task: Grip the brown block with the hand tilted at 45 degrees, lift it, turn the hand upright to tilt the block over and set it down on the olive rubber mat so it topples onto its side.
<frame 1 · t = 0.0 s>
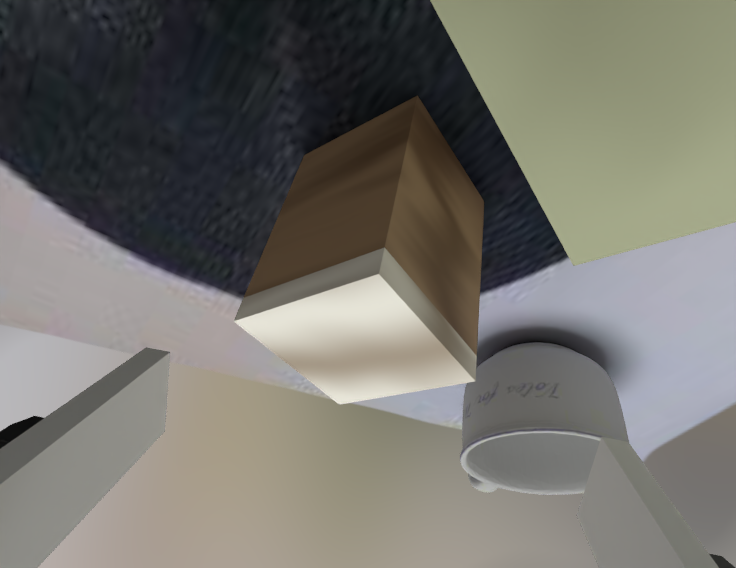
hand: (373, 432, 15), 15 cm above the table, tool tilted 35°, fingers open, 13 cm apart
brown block: (394, 178, 27), on the table
teacup: (523, 370, 39), on the table
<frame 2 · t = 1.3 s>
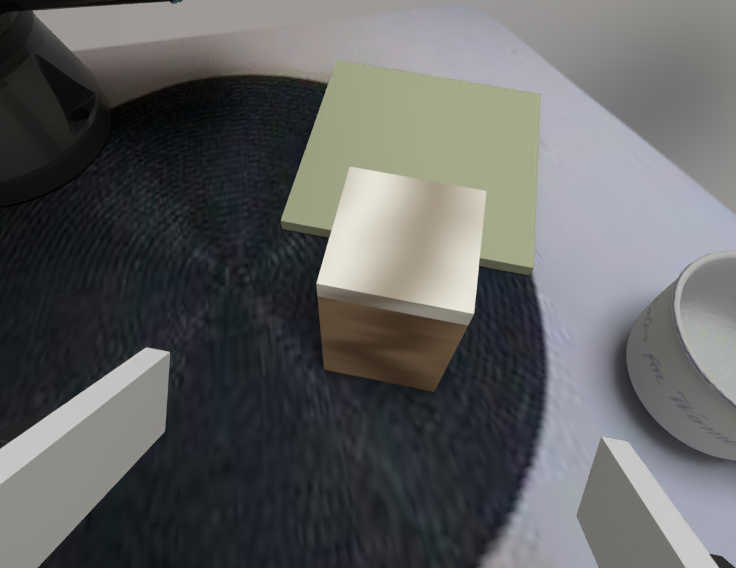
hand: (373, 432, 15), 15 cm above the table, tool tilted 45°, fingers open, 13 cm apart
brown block: (388, 330, 34), on the table
olive mat: (421, 160, 41), on the table
teacup: (701, 409, 32), on the table
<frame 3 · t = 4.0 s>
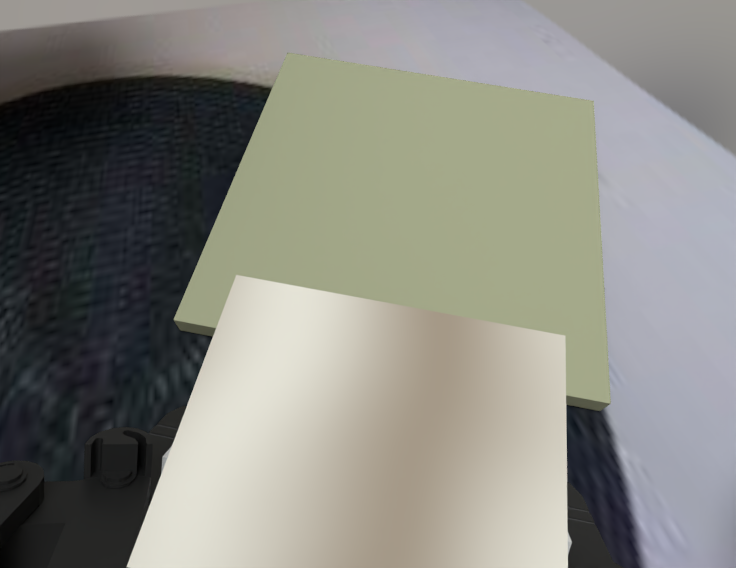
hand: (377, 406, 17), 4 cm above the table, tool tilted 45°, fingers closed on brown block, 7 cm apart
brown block: (354, 531, 18), on the table, touching gripper
olive mat: (414, 205, 26), on the table
when the fingers open (5 cm above the table, at t = 9.1 s): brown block moves 3 cm and tips over, resting on olive mat.
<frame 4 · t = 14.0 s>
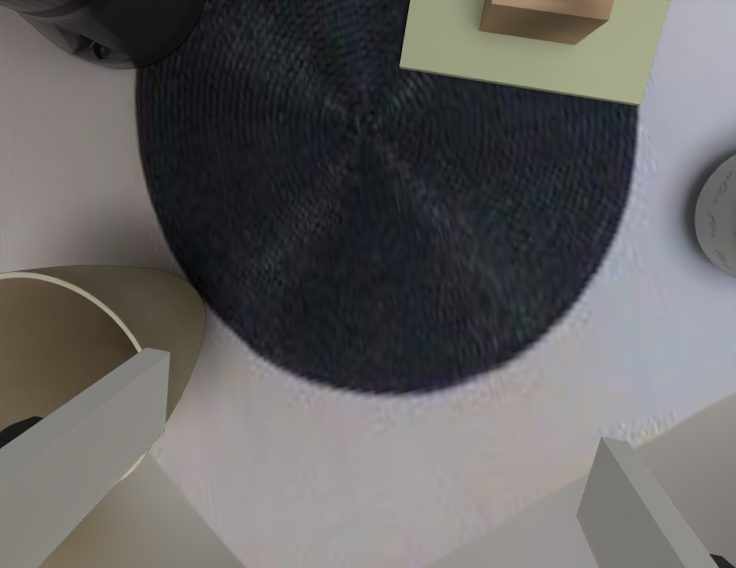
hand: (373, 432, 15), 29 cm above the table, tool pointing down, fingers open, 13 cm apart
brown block: (536, 26, 34), point 4 cm above the table, tilted 90°, touching olive mat
plant pot: (167, 312, 47), on the table
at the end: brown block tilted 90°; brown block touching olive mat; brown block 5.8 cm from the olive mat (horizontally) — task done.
